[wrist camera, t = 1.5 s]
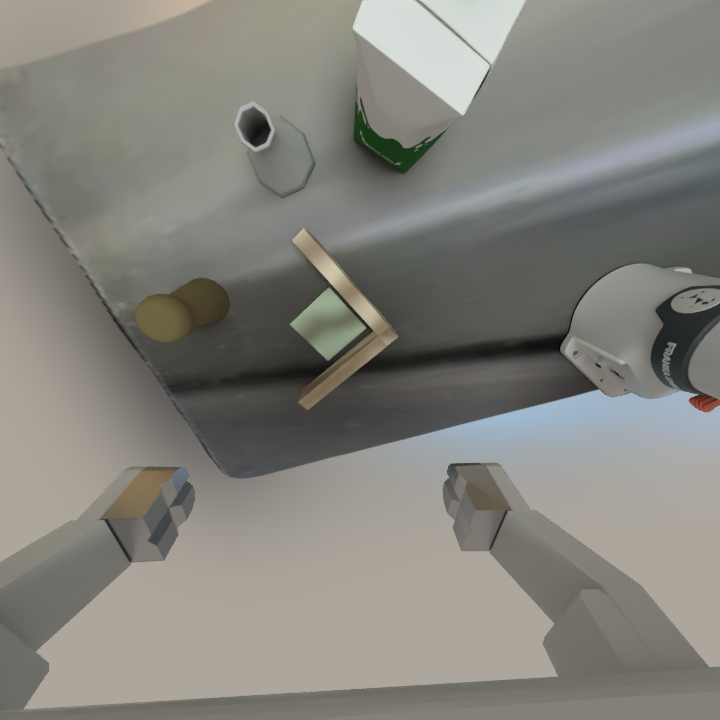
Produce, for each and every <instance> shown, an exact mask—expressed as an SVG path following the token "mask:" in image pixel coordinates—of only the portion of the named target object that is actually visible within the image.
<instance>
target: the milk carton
mask: <svg viewBox="0 0 720 720" xmlns="http://www.w3.org/2000/svg"><path fill="white" fill-rule="evenodd" d="M527 1H528V0H362V3H361V6H360V8H359V11H358V14H357V16H356V19H355V22H354V25H353V33H354V36H355V40H356V43H357V47H358V70H357V88H356V107H355V125H354V140H356V141H357V142H359V143H360V144H362V145H363V146H365V147H366V148H368V149H369V150H370V151H372V152H373V153H375V154H376V155H378V156H379V157H381V158H382V159H384V160H385V161H387V162H388V163H390V164H391V165H393V166H394V167H395V168H397V169H398V170H400V171H401V172H403V173H404V174H405V173H406V172H407V171H408V170H409V169H410V168H411V167H412V166H413V165H414V164H415V163H416V162H417V161H418V160H419V159H420V158H421V157H422V156H423V155H424V153H425V152H426V151H427V150H428V149H429V148H430V147H431V146H432V145H433V144H434V143H435V142H436V141H437V140H438V139H439V138H440V137H441V135H442V134H443V133H444V132H445V131H446V130H447V129H448V128H449V127H450V126H451V124H452V123H453V122H454V121H455V120H456V119H457V118H458V117H461V116H463V115H464V114H465V112H466V110H467V108H468V106H469V105H470V103H471V101H473V100H474V99H475V98H476V97H477V95H478V94H479V92H480V90H481V89H482V87H483V85H484V84H485V82H486V80H487V78H488V76H489V75H490V73H491V71H492V69H493V67H494V65H495V63H496V61H497V59H498V57H499V55H500V53H501V51H502V49H503V47H504V45H505V43H506V41H507V40H508V38H509V36H510V34H511V32H512V30H513V28H514V26H515V24H516V23H517V21H518V19H519V17H520V15H521V13H522V11H523V9H524V7H525V5H526V3H527ZM490 65H491V67H490ZM489 67H490V69H489ZM488 69H489V71H488ZM487 71H488V72H487ZM486 73H487V74H486ZM485 75H486V76H485ZM484 77H485V78H484ZM482 80H483V81H482ZM481 82H482V83H481ZM480 84H481V85H480ZM479 86H480V87H479ZM478 88H479V89H478ZM477 90H478V91H477ZM475 93H476V94H475ZM474 95H475V96H474ZM473 97H474V98H473ZM472 99H473V100H472Z"/></svg>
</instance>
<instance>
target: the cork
mask: <svg viewBox="0 0 720 720" xmlns="http://www.w3.org/2000/svg"><path fill="white" fill-rule="evenodd" d="M228 310H229V298H228V296H227V294H226V292H225V290H224V289H223V288H222V287H221V286H220V285H219V284H217V283H216V282H215V281H212V280H209V279H205V278H199V279H195V280H192V281H191V282H189V283H187V284H186V285H184V286H182V287H181V288H179V289H177V290H175V291H174V292H172V293H170V294H169V295H167V294H156V295H152V296H149V297H146V298H145V299H144V300H143V301H141V302H140V303H139V305H138V306H137V308H136V315H135V318H136V322H137V324H138V326H139V328H140V329H141V331H142V332H144V333H145V334H146V335H147V336H148V337H150V338H152V339H154V340H157V341H160V342H169V343H170V342H175V341H179V340H181V339H183V338H184V337H186V336H187V335H189V333H190V331H191V330H192V328H195V327H199V326H202V325H205V324H208V323H211V322H214V321H217V320H220V319H222V318H223V317H225V315H226V314H227V312H228Z"/></svg>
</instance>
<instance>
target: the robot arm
mask: <svg viewBox="0 0 720 720" xmlns="http://www.w3.org/2000/svg"><path fill="white" fill-rule="evenodd" d="M574 351H575V352H574ZM560 352H561V353H562V354H563V355H564V356H565V357H566V358H567V359H568V360H569V361H570V362H571V363H572V364H573V365H574V366H575V367H576V368H577V369H579V370H580V371H581V372H582V373H583V374H584V375H585V376H586V377H587V378H588V379H589V380H590V381H591V382H592V383H593V384H594V385H595V386H596V387H597V388H599V389H600V390H601V391H602V392H603V393H604V394H605V395H608V396H610V397H617V396H622V395H625V394H628V393H631V392H632V393H634V394H636V395H638V396H640V397H643V398H648V399H654V398H660V397H664V396H667V395H670V394H673V393H675V392H678V391H686V392H690V393H694V394H699V395H698V396H695V397H692V398H690V399H689V402H690V403H691V404H692V405H694V407H695V408H697V409H699V410H701V411H703V412H710V411H711V410H713V409H714V408H715V407H717V406H719V405H720V279H718V278H713V277H708V276H703V275H697V274H692V271H691V269H689V268H685V267H670V268H660V267H657V266H654V265H650V264H632V265H628V266H624V267H621V268H619V269H617V270H615V271H613V272H611V273H609V274H607V275H606V276H604V277H603V278H602V279H600V280H599V281H598V282H597V283H596V284H594V285H593V286H592V287H591V288H590V289H589V291H588V292H587V293H586V294H585V295H584V297H583V298H582V300H581V301H580V303H579V304H578V306H577V308H576V310H575V313H574V315H573V319H572V323H571V328H570V331H569V333H568V335H567V337H566V338H565V340H564V341H563V343H562V345H561V348H560ZM573 352H574V353H573ZM447 474H448V476H449V478H448V479H447V480H446V481H445V482H444V487H443V499H444V504H445V507H446V510H447V513H448V514H449V515H450V516H451V517H452V518H453V519H454V520H455V522H454V526H453V530H454V532H455V535H456V538H457V541H458V543H459V546H460V549H461V551H490V554H491V555H492V556H493V557H494V558H495V559H496V560H497V561H498V562H499V563H500V565H501V566H502V567H503V568H504V569H505V570H506V571H507V572H508V573H509V574H510V575H511V576H512V578H513V579H514V580H515V581H516V582H517V583H518V584H519V585H520V586H521V588H522V589H523V590H524V591H525V592H526V593H527V594H528V595H529V596H530V597H531V598H532V600H533V601H534V602H535V603H536V604H537V605H538V606H539V607H540V608H541V609H542V610H543V612H544V613H545V614H546V615H547V616H548V617H549V618H550V619H551V620H552V621H553V622H554V626H553V627H552V628H551V630H550V631H549V632H548V633H547V635H546V636H545V638H544V642H543V645H544V647H545V649H546V651H547V654H548V656H549V658H550V660H551V662H552V664H553V666H554V668H555V670H556V673H557V675H558V677H547V678H530V679H513V680H499V681H498V680H497V681H481V682H464V683H448V684H433V685H416V686H400V687H384V688H367V689H351V690H334V691H318V692H302V693H287V694H270V695H253V696H237V697H221V698H204V699H188V700H172V701H155V702H142V703H141V702H140V703H124V704H107V705H90V706H76V707H58V708H42V709H26V710H23V709H24V707H25V706H26V704H27V703H28V701H29V700H30V698H31V697H32V695H33V694H34V692H35V691H36V689H37V688H38V686H39V685H40V683H41V682H42V680H43V679H44V677H45V676H46V674H47V673H48V671H49V663H48V662H47V661H46V660H44V659H43V658H42V657H41V656H40V655H39V654H37V653H36V651H37V650H38V649H39V648H40V647H41V646H42V645H43V644H44V643H46V642H47V641H48V640H49V639H50V638H51V637H52V636H53V635H54V634H55V633H57V631H59V630H60V629H61V628H62V627H63V626H64V625H65V624H66V623H67V622H69V621H70V620H71V619H72V618H73V617H74V616H75V615H76V614H77V613H78V612H80V610H82V609H83V608H84V607H85V606H86V605H87V604H88V603H89V602H90V601H92V600H93V599H94V598H95V597H96V596H97V595H98V594H99V593H100V592H101V591H102V590H104V589H105V588H106V587H107V586H108V585H109V584H110V583H111V582H112V581H113V580H115V579H116V578H117V577H118V576H119V575H120V574H121V573H122V572H123V571H124V570H125V569H127V567H128V566H130V565H131V563H132V562H148V561H164V560H165V558H166V556H167V554H168V553H169V551H170V549H171V547H172V545H173V544H174V542H175V540H176V538H177V537H178V531H177V527H178V526H179V525H181V524H182V523H183V522H184V521H186V520H187V518H188V516H189V514H190V513H191V511H192V508H193V504H194V501H195V491H194V488H193V486H192V485H191V484H190V483H188V482H187V481H186V480H187V479H188V477H189V473H188V471H187V469H186V468H184V467H129V468H127V469H125V470H123V471H122V472H121V473H120V475H119V476H118V477H117V478H116V479H115V480H114V481H113V482H112V483H111V484H110V485H109V486H108V487H107V488H106V489H105V490H104V492H103V493H102V494H101V495H100V496H99V497H98V498H97V499H96V500H95V501H94V502H93V503H92V504H91V505H90V506H89V508H88V509H87V510H86V511H85V512H84V513H83V514H82V515H81V516H80V517H79V518H78V519H77V520H76V521H69V522H67V523H66V524H64V525H62V526H60V527H59V528H57V529H55V530H54V531H52V532H50V533H49V534H47V535H46V536H44V537H42V538H40V539H39V540H37V541H35V542H33V543H32V544H30V545H28V546H27V547H25V548H23V549H21V550H20V551H18V552H16V553H15V554H13V555H11V556H10V557H8V558H7V559H5V560H3V561H1V562H0V720H720V667H709V666H708V665H707V664H706V663H705V662H704V660H703V659H702V658H701V657H700V656H699V654H698V653H697V652H696V651H695V650H694V648H693V647H692V646H691V645H690V644H689V642H688V641H687V640H686V639H685V638H684V636H683V635H682V634H681V633H680V632H679V630H678V629H677V628H676V627H675V626H674V624H673V623H672V622H671V621H670V620H669V618H668V617H667V616H666V615H665V614H664V612H663V611H662V610H661V609H660V608H659V607H658V605H657V604H656V603H655V602H654V600H653V599H652V598H651V597H650V596H649V594H648V593H647V592H646V591H645V590H644V588H643V587H642V586H641V585H640V584H638V583H637V582H635V581H634V580H633V579H631V578H630V577H629V576H627V575H626V574H624V573H623V572H622V571H620V570H619V569H617V568H616V567H615V566H613V565H612V564H610V563H609V562H608V561H606V560H605V559H603V558H602V557H600V556H599V555H598V554H596V553H595V552H593V551H592V550H591V549H589V548H588V547H587V546H585V545H584V544H582V543H581V542H580V541H578V540H577V539H575V538H574V537H573V536H571V535H570V534H568V533H567V532H566V531H564V530H563V529H561V528H560V527H559V526H557V525H556V524H554V523H553V522H552V521H550V520H549V519H547V518H546V517H545V516H543V515H542V514H541V513H539V512H538V511H536V510H531V509H530V508H529V506H528V505H527V503H526V502H525V500H524V499H523V498H522V496H521V495H520V493H519V492H518V490H517V489H516V487H515V486H514V484H513V483H512V481H511V480H510V478H509V477H508V475H507V474H506V472H505V471H504V470H503V468H502V466H501V465H500V464H498V463H456V464H450V465H449V466H448V470H447Z"/></svg>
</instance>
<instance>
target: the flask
mask: <svg viewBox="0 0 720 720" xmlns="http://www.w3.org/2000/svg"><path fill="white" fill-rule="evenodd" d="M233 125H234V127H235V130H236V132H237V134H238V136H239V138H240V141H241V143H242V144H244V145H245V146H247V147H248V154H247V155H248V157H249V159H250V161H251V163H252V166H253V168H254V170H255V172H256V174H257V177H258V179H259V181H260V183H262V184H263V185H265V186H266V187H267V188H269V189H270V190H272V191H273V192H275V193H276V194H278V195H279V196H281V197H282V198H283V197H285V196H287V195H289V194H291V193H294V192H296V191H298V190H300V189H302V188H304V186H305V184H306V182H307V180H308V178H309V176H310V173H311V171H312V169H313V167H314V165H315V162H314V159H313V156H312V154H311V151H310V148H309V146H308V143H307V140H306V137H305V135H304V134H303V133H302V132H301V131H299V130H298V129H297V128H295V127H294V126H293V125H292V124H290V123H289V122H288V121H286V120H285V119H284V118H282V117H281V116H280V117H276V118H273V119H271V117H270V115H269V112H268V111H266V110H265V109H264V108H262V107H261V106H260V105H259V104H257V103H256V102H255V101H253V100H252V101H250V102H248V103H246V104H244V105H243V106H241V107H239V109H238V111H237V114H236V117H235V120H234V123H233Z"/></svg>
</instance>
